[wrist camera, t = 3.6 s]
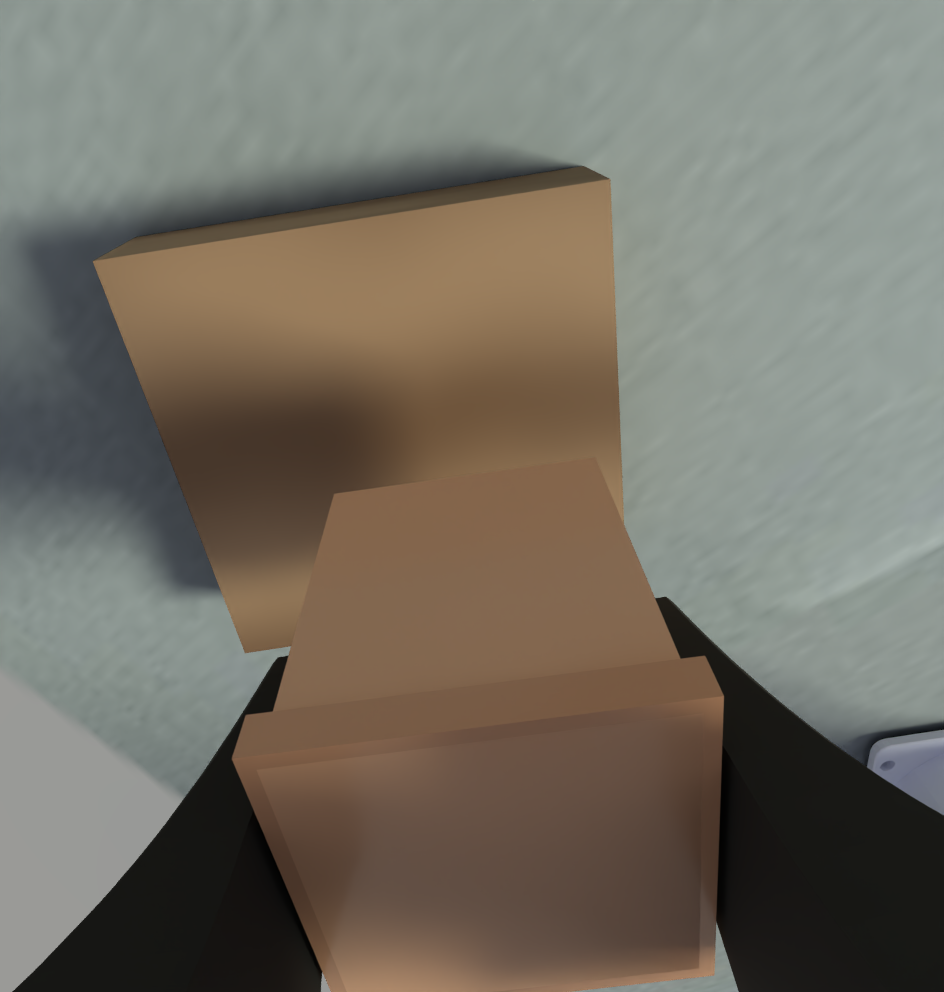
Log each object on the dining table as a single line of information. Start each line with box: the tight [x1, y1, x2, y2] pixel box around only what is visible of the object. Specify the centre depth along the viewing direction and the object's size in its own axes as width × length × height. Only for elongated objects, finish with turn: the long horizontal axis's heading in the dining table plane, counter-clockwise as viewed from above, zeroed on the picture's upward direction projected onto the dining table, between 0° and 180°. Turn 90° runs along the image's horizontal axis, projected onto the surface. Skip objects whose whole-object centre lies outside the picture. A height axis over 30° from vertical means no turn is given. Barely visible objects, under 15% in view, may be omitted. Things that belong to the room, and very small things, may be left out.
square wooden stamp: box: [232, 457, 724, 992], centre depth 11 cm, size 5×5×6 cm
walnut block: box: [93, 166, 624, 653], centre depth 17 cm, size 10×10×2 cm
